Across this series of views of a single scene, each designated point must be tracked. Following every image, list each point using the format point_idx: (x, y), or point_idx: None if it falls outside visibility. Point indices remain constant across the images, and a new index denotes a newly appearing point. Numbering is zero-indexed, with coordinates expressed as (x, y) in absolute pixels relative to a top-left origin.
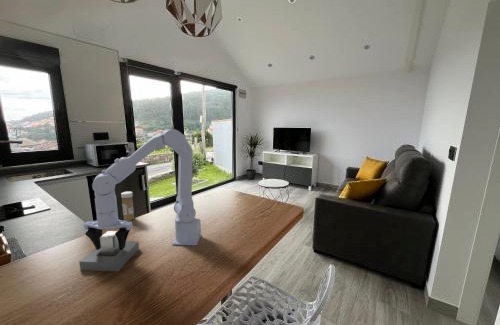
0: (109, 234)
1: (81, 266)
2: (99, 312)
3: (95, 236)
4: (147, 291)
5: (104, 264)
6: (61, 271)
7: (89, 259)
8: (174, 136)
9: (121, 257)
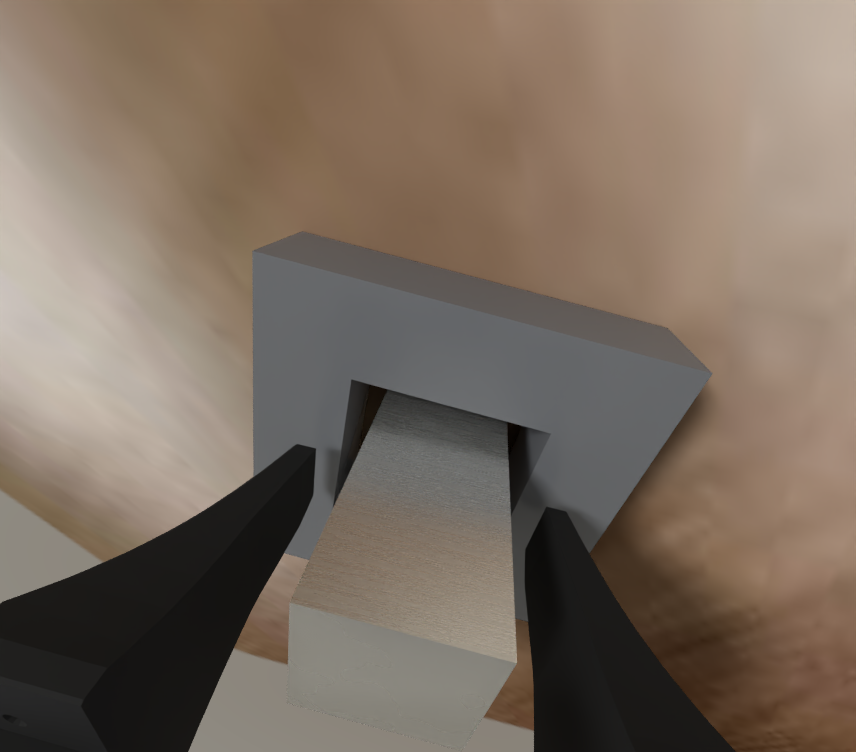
0: (383, 689)
1: None
2: (521, 711)
3: (213, 672)
4: (710, 701)
5: None
6: (183, 472)
7: (311, 543)
8: None
9: None
